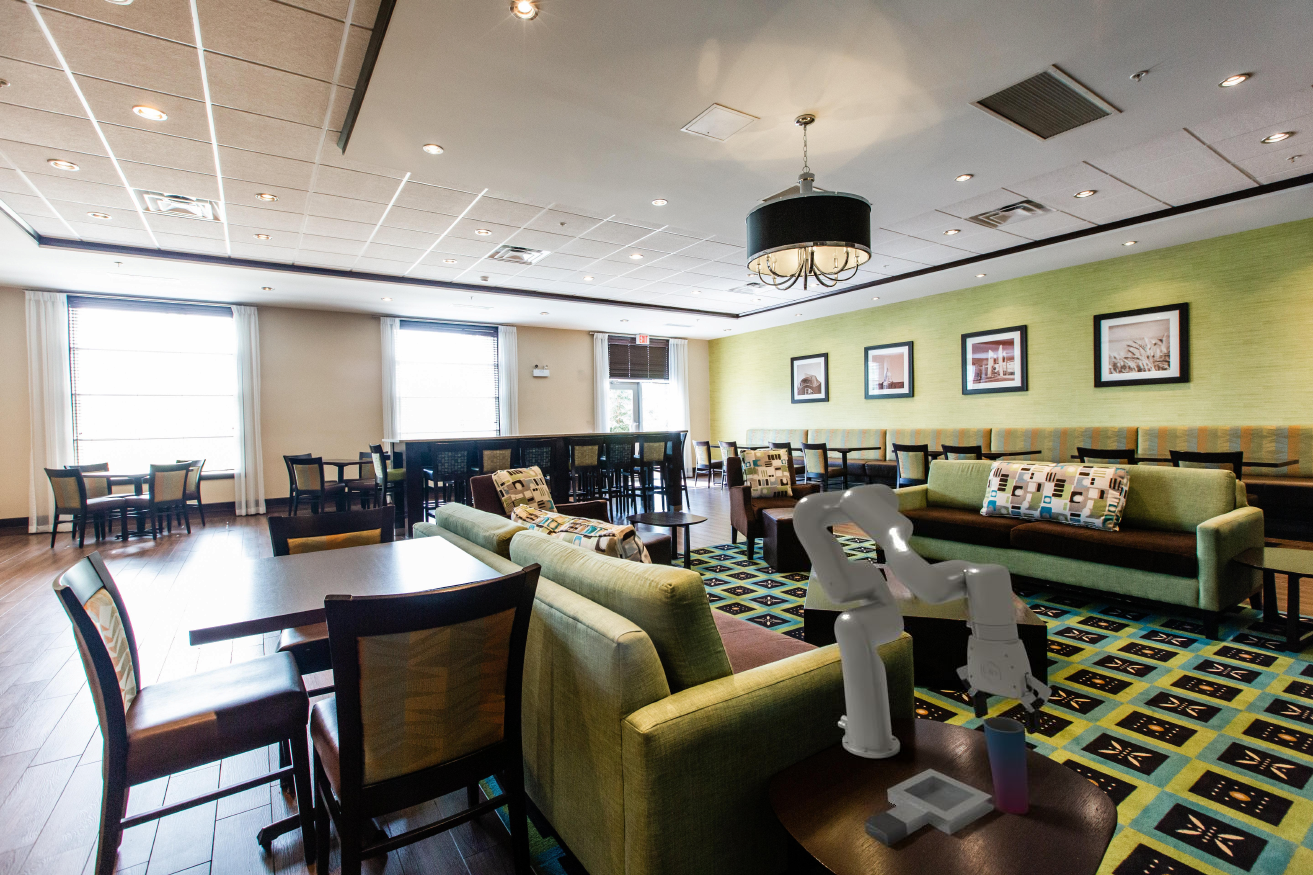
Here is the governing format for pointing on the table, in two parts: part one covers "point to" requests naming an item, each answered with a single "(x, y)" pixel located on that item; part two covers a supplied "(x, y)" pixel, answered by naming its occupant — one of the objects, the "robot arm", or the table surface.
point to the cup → (1008, 762)
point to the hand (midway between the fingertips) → (1006, 723)
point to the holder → (928, 807)
